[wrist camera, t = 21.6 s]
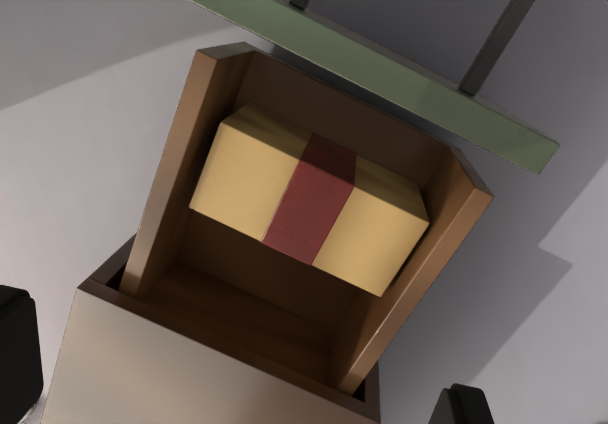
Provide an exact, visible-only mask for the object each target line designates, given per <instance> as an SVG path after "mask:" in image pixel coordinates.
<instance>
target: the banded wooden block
mask: <svg viewBox="0 0 608 424" xmlns="http://www.w3.org/2000/svg"><path fill="white" fill-rule="evenodd" d="M189 208H191V209H193V210H196V211H198V212H200V213H202V214H204V215H206V216H208V217H210V218H213V219H215V220H217V221H219V222H221V223H223V224H225V225H227V226H230V227H232V228H234V229H236V230H238V231H240V232H242V233H245V234H247V235H249V236H251V237H253V238H255V239H257V240H259V241H261V243H263V244H265V245H267V246H269V247H271V248H273V249H275V250H278V251H280V252H282V253H284V254H286V255H288V256H290V257H292V258H295V259H297V260H299V261H301V262H303V263H305V264H307V265H310V266H311V265H313V266H315V267H317V268H319V269H321V270H323V271H326V272H328V273H330V274H332V275H334V276H336V277H338V278H340V279H343V280H345V281H347V282H349V283H351V284H353V285H355V286H358V287H360V288H362V289H364V290H366V291H368V292H370V293H372V294H375V295H377V296H379V297H381V296H382V295H383V293H384V292H385V290H386V289H387V287H388V286H389V284H390V283H391V281H392V280H393V278H394V277H395V275H396V274H397V272H398V271H399V269H400V268H401V266H402V265H403V263H404V262H405V260H406V259H407V257H408V256H409V254H410V253H411V251H412V250H413V248H414V246H415V245H416V243H417V242H418V240H419V239H420V237H421V236H422V234H423V233H424V231H425V230H426V228H427V227H428V225H429V224H430V222H429V219H428V216H427V212H426V209H425V206H424V203H423V200H422V197H421V193H420V190H419V187H418V184H416V183H414V182H412V181H410V180H408V179H406V178H404V177H402V176H400V175H398V174H396V173H393V172H391V171H389V170H387V169H385V168H383V167H381V166H379V165H377V164H375V163H373V162H371V161H369V160H367V159H365V158H363V157H361V156H359V155H357V153H355V152H353V151H351V150H349V149H347V148H345V147H343V146H341V145H339V144H337V143H335V142H333V141H331V140H329V139H327V138H325V137H323V136H320V135H318V134H316V133H314V132H310V131H308V130H306V129H304V128H301V127H299V126H297V125H295V124H293V123H291V122H289V121H287V120H285V119H283V118H281V117H279V116H277V115H275V114H273V113H271V112H269V111H267V110H265V109H263V108H261V107H259V106H257V105H254V104H252V103H250V102H249V103H247V104H246V105H244V106H243V107H241V108H240V109H239V110H237V111H236V112H234V113H233V114H231V115H230V116H229V117H227V118H226V119H224V120H223V121H221V122H220V125H219V127H218V130H217V133H216V135H215V138H214V141H213V143H212V146H211V149H210V151H209V154H208V157H207V159H206V162H205V165H204V167H203V170H202V173H201V175H200V178H199V181H198V183H197V186H196V189H195V191H194V194H193V197H192V199H191V202H190V205H189Z"/></svg>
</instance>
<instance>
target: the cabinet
mask: <svg viewBox="0 0 608 424" xmlns="http://www.w3.org/2000/svg"><path fill="white" fill-rule="evenodd" d="M136 234H137V233H136ZM136 234H135V235H134V236H133V237H131V238H130V239H129V240H128V241H127V242H126V243H125V244H124V245H123V246H122V247H121V248H120V249H118V250H117V251H116V252H115V253H114V254H113V255H112V256H111V257H110V258H109V259H108V260H107V261H105V262H104V263H103V264H102V265H101V266H100V267H99V268H98V269H97V270H96V271H95V272H94V273H92V274H91V275H90V276H89V277H88V278H87V279H86V280H85V281H83V282H82V283H81V284H80V285H79V286H78V287H77V289H76V292H75V296H74V300H73V304H72V307H71V311H70V315H69V318H68V322H67V326H66V329H65V333H64V337H63V340H62V344H61V348H60V351H59V355H58V359H57V363H56V366H55V370H54V374H53V377H52V381H51V385H50V388H49V392H48V396H47V399H46V403H45V407H44V410H43V414H42V418H41V421H40V424H381V415H380V391H379V364H378V360H377V361H376V363H375V364H374V366H373V367H372V368H371V370H370V371H369V372H368V374H367V375H366V377H365V378H364V379H363V381H362V382H361V384H360V385H359V386H358V388H357V389H356V391H355V392H354V393H353V395H352V396H348V395H346V394H344V393H342V392H340V391H337V390H335V389H333V388H331V387H329V386H326V385H324V384H322V383H320V382H317V381H315V380H313V379H311V378H309V377H306V376H304V375H302V374H300V373H298V372H295V371H293V370H291V369H289V368H286V367H284V366H282V365H280V364H278V363H275V362H273V361H271V360H269V359H267V358H264V357H262V356H260V355H258V354H255V353H253V352H251V351H249V350H247V349H244V348H242V347H240V346H238V345H236V344H233V343H231V342H229V341H227V340H224V339H222V338H220V337H218V336H216V335H213V334H211V333H209V332H207V331H205V330H202V329H200V328H198V327H196V326H193V325H191V324H189V323H187V322H185V321H182V320H180V319H178V318H176V317H174V316H171V315H169V314H167V313H165V312H162V311H160V310H158V309H156V308H154V307H151V306H149V305H147V304H145V303H143V302H140V301H138V300H136V299H134V298H131V297H129V296H127V295H125V294H123V293H120V292H118V290H119V286H120V283H121V280H122V277H123V274H124V271H125V268H126V265H127V262H128V259H129V256H130V253H131V249H132V246H133V243H134V240H135V237H136Z"/></svg>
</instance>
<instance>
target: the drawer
mask: <svg viewBox="0 0 608 424" xmlns="http://www.w3.org/2000/svg"><path fill="white" fill-rule="evenodd" d="M189 1H190V2H192V3H194V4H196V5H198V6H200V7H202V8H204V9H206V10H208V11H210V12H212V13H214V14H216V15H218V16H220V17H222V18H224V19H226V20H228V21H230V22H232V23H234V24H236V25H238V26H240V27H242V28H244V29H246V30H248V31H250V32H252V33H254V34H256V35H258V36H260V37H262V38H264V39H266V40H268V41H270V42H272V43H274V44H276V45H278V46H280V47H282V48H284V49H286V50H288V51H290V52H292V53H294V54H296V55H298V56H300V57H302V58H304V59H306V60H308V61H310V62H312V63H314V64H316V65H318V66H320V67H322V68H324V69H326V70H328V71H330V72H332V73H334V74H336V75H338V76H340V77H342V78H344V79H346V80H348V81H350V82H352V83H354V84H356V85H358V86H360V87H362V88H364V89H366V90H368V91H370V92H372V93H374V94H376V95H378V96H380V97H382V98H384V99H386V100H388V101H390V102H392V103H394V104H396V105H398V106H400V107H402V108H404V109H406V110H408V111H410V112H412V113H414V114H416V115H418V116H420V117H422V118H424V119H426V120H428V121H430V122H432V123H434V124H436V125H438V126H440V127H442V128H444V129H446V130H448V131H450V132H452V133H454V134H456V135H458V136H460V137H462V138H464V139H466V140H468V141H470V142H472V143H474V144H476V145H478V146H480V147H482V148H484V149H486V150H488V151H490V152H492V153H494V154H496V155H498V156H500V157H502V158H504V159H506V160H508V161H510V162H512V163H514V164H516V165H518V166H520V167H522V168H524V169H526V170H528V171H530V172H532V173H534V174H539V173H540V172H541V170H542V169H543V168H544V166H545V165H546V164H547V162H548V161H549V160H550V158H551V157H552V156H553V154H554V153H555V152H556V150H557V149H558V148H559V146H560V144H559V143H558V142H556V141H555V140H553V139H552V138H550V137H548V136H547V135H545V134H544V133H542V132H541V131H539V130H537V129H536V128H534V127H533V126H531V125H529V124H528V123H526V122H525V121H523V120H522V119H520V118H518V117H517V116H515V115H514V114H512V113H510V112H509V111H507V110H506V109H504V108H503V107H501V106H499V105H497V104H495V103H493V102H491V101H489V100H487V99H485V98H483V97H481V96H479V95H477V92H478V91H479V89H480V87H481V86H482V84H483V83H484V81H485V79H486V78H487V76H488V75H489V73H490V71H491V70H492V68H493V67H494V65H495V63H496V62H497V60H498V59H499V57H500V55H501V54H502V52H503V51H504V49H505V47H506V46H507V44H508V43H509V41H510V39H511V38H512V36H513V35H514V33H515V31H516V30H517V28H518V27H519V25H520V23H521V22H522V20H523V19H524V17H525V15H526V14H527V12H528V11H529V9H530V7H531V6H532V4H533V3H534V1H535V0H510V2H509V4H508V5H507V7H506V9H505V10H504V12H503V14H502V15H501V17H500V19H499V20H498V22H497V24H496V25H495V27H494V29H493V30H492V32H491V34H490V35H489V37H488V39H487V40H486V42H485V44H484V45H483V47H482V49H481V50H480V52H479V54H478V55H477V57H476V59H475V60H474V62H473V64H472V65H471V67H470V69H469V70H468V72H467V74H466V75H465V77H464V79H463V80H462V82H461V84H460V85H458V84H456V83H454V82H452V81H450V80H448V79H446V78H444V77H442V76H440V75H438V74H436V73H434V72H432V71H430V70H428V69H426V68H424V67H422V66H420V65H418V64H416V63H414V62H412V61H410V60H408V59H406V58H404V57H402V56H400V55H398V54H396V53H394V52H393V51H391V50H389V49H387V48H385V47H383V46H381V45H379V44H377V43H375V42H373V41H371V40H369V39H367V38H365V37H363V36H361V35H359V34H357V33H355V32H353V31H351V30H349V29H347V28H345V27H343V26H341V25H339V24H337V23H335V22H333V21H331V20H329V19H327V18H326V17H324V16H322V15H320V14H318V13H316V12H314V11H312V10H310V9H308V8H306V7H307V5H308V2H309V0H189ZM249 102H250V103H252V104H254V105H257V106H259V107H261V108H263V109H265V110H267V111H269V112H271V113H273V114H275V115H277V116H279V117H281V118H283V119H285V120H287V121H289V122H291V123H293V124H295V125H297V126H299V127H301V128H304V129H306V130H308V131H310V132H314V133H316V134H318V135H320V136H323V137H325V138H327V139H329V140H331V141H333V142H335V143H337V144H339V145H341V146H343V147H345V148H347V149H349V150H351V151H353V152H355V153H357V155H359V156H361V157H363V158H365V159H367V160H369V161H371V162H373V163H375V164H377V165H379V166H381V167H383V168H385V169H387V170H389V171H391V172H393V173H396V174H398V175H400V176H402V177H404V178H406V179H408V180H410V181H412V182H414V183H416V184H418V187H419V190H420V193H421V197H422V200H423V203H424V206H425V209H426V212H427V216H428V219H429V222H430V224H429V225H428V227H427V228H426V230H425V231H424V233H423V234H422V236H421V237H420V239H419V240H418V242H417V243H416V245H415V246H414V248H413V250H412V251H411V253H410V254H409V256H408V257H407V259H406V260H405V262H404V263H403V265H402V266H401V268H400V269H399V271H398V272H397V274H396V275H395V277H394V278H393V280H392V281H391V283H390V284H389V286H388V287H387V289H386V290H385V292H384V293H383V295H382V296H381V297H379V296H377V295H375V294H372V293H370V292H368V291H366V290H364V289H362V288H360V287H358V286H355V285H353V284H351V283H349V282H347V281H345V280H343V279H340V278H338V277H336V276H334V275H332V274H330V273H328V272H326V271H323V270H321V269H319V268H317V267H315V266H313V265H311V266H310V265H307V264H305V263H303V262H301V261H299V260H297V259H295V258H292V257H290V256H288V255H286V254H284V253H282V252H280V251H278V250H275V249H273V248H271V247H269V246H267V245H265V244H263V243H261V241H259V240H257V239H255V238H253V237H251V236H249V235H247V234H245V233H242V232H240V231H238V230H236V229H234V228H232V227H230V226H227V225H225V224H223V223H221V222H219V221H217V220H215V219H213V218H210V217H208V216H206V215H204V214H202V213H200V212H198V211H196V210H193V209H191V208H189V205H190V202H191V199H192V197H193V194H194V191H195V189H196V186H197V183H198V181H199V178H200V175H201V173H202V170H203V167H204V165H205V162H206V159H207V157H208V154H209V151H210V149H211V146H212V143H213V141H214V138H215V135H216V133H217V130H218V127H219V125H220V122H221V121H223V120H224V119H226V118H227V117H229V116H230V115H231V114H233V113H234V112H236V111H237V110H239V109H240V108H241V107H243V106H244V105H246V104H247V103H249ZM493 198H494V195H493V194H492V193H491V191H490V190H489V189H488V187H487V186H486V184H485V183H484V182H483V180H482V179H481V178H480V176H479V175H478V174H477V172H476V171H475V169H474V168H473V167H472V165H471V164H470V163H469V161H468V160H467V158H466V157H465V156H464V154H463V153H462V151H461V150H460V149H459V148H457V147H455V146H453V145H451V144H449V143H447V142H445V141H443V140H441V139H439V138H437V137H435V136H433V135H431V134H429V133H427V132H425V131H423V130H421V129H419V128H417V127H415V126H413V125H411V124H408V123H406V122H404V121H402V120H400V119H398V118H396V117H394V116H392V115H390V114H388V113H386V112H384V111H382V110H380V109H378V108H376V107H374V106H372V105H370V104H368V103H366V102H364V101H362V100H360V99H358V98H356V97H354V96H352V95H350V94H348V93H346V92H344V91H342V90H340V89H338V88H336V87H334V86H332V85H330V84H328V83H326V82H324V81H322V80H320V79H318V78H316V77H314V76H312V75H310V74H308V73H306V72H304V71H302V70H300V69H298V68H296V67H294V66H292V65H290V64H288V63H286V62H284V61H282V60H280V59H278V58H276V57H274V56H272V55H270V54H268V53H266V52H264V51H262V50H260V49H258V48H256V47H254V46H252V45H250V44H248V43H246V42H240V43H233V44H227V45H221V46H216V47H210V48H204V49H198V50H196V52H195V56H194V59H193V62H192V65H191V68H190V71H189V74H188V77H187V80H186V83H185V86H184V89H183V93H182V96H181V99H180V102H179V105H178V108H177V111H176V114H175V117H174V120H173V123H172V126H171V129H170V133H169V136H168V139H167V142H166V145H165V148H164V151H163V154H162V157H161V160H160V163H159V166H158V169H157V173H156V176H155V179H154V182H153V185H152V188H151V191H150V194H149V197H148V200H147V203H146V206H145V209H144V213H143V216H142V219H141V222H140V225H139V228H138V231H137V234H136V237H135V240H134V243H133V246H132V249H131V253H130V256H129V259H128V262H127V265H126V268H125V271H124V274H123V277H122V280H121V283H120V286H119V290H118V292H120V293H123V294H125V295H127V296H129V297H131V298H134V299H136V300H138V301H140V302H143V303H145V304H147V305H149V306H151V307H154V308H156V309H158V310H160V311H162V312H165V313H167V314H169V315H171V316H174V317H176V318H178V319H180V320H182V321H185V322H187V323H189V324H191V325H193V326H196V327H198V328H200V329H202V330H205V331H207V332H209V333H211V334H213V335H216V336H218V337H220V338H222V339H224V340H227V341H229V342H231V343H233V344H236V345H238V346H240V347H242V348H244V349H247V350H249V351H251V352H253V353H255V354H258V355H260V356H262V357H264V358H267V359H269V360H271V361H273V362H275V363H278V364H280V365H282V366H284V367H286V368H289V369H291V370H293V371H295V372H298V373H300V374H302V375H304V376H306V377H309V378H311V379H313V380H315V381H317V382H320V383H322V384H324V385H326V386H329V387H331V388H333V389H335V390H337V391H340V392H342V393H344V394H346V395H348V396H352V395H353V393H354V392H355V391H356V389H357V388H358V386H359V385H360V384H361V382H362V381H363V379H364V378H365V377H366V375H367V374H368V372H369V371H370V370H371V368H372V367H373V366H374V364H375V363H376V361H377V360H378V359H379V357H380V356H381V354H382V353H383V352H384V350H385V349H386V347H387V346H388V345H389V343H390V342H391V340H392V339H393V338H394V336H395V335H396V333H397V332H398V331H399V329H400V328H401V327H402V325H403V324H404V322H405V321H406V320H407V318H408V317H409V315H410V314H411V313H412V311H413V310H414V308H415V307H416V306H417V304H418V303H419V301H420V300H421V299H422V297H423V296H424V294H425V293H426V292H427V290H428V289H429V288H430V286H431V285H432V283H433V282H434V281H435V279H436V278H437V276H438V275H439V274H440V272H441V271H442V269H443V268H444V267H445V265H446V264H447V262H448V261H449V260H450V258H451V257H452V255H453V254H454V253H455V251H456V250H457V249H458V247H459V246H460V244H461V243H462V242H463V240H464V239H465V237H466V236H467V235H468V233H469V232H470V230H471V229H472V228H473V226H474V225H475V223H476V222H477V221H478V219H479V218H480V217H481V215H482V214H483V212H484V211H485V210H486V208H487V207H488V205H489V204H490V203H491V201H492V200H493Z"/></svg>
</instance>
